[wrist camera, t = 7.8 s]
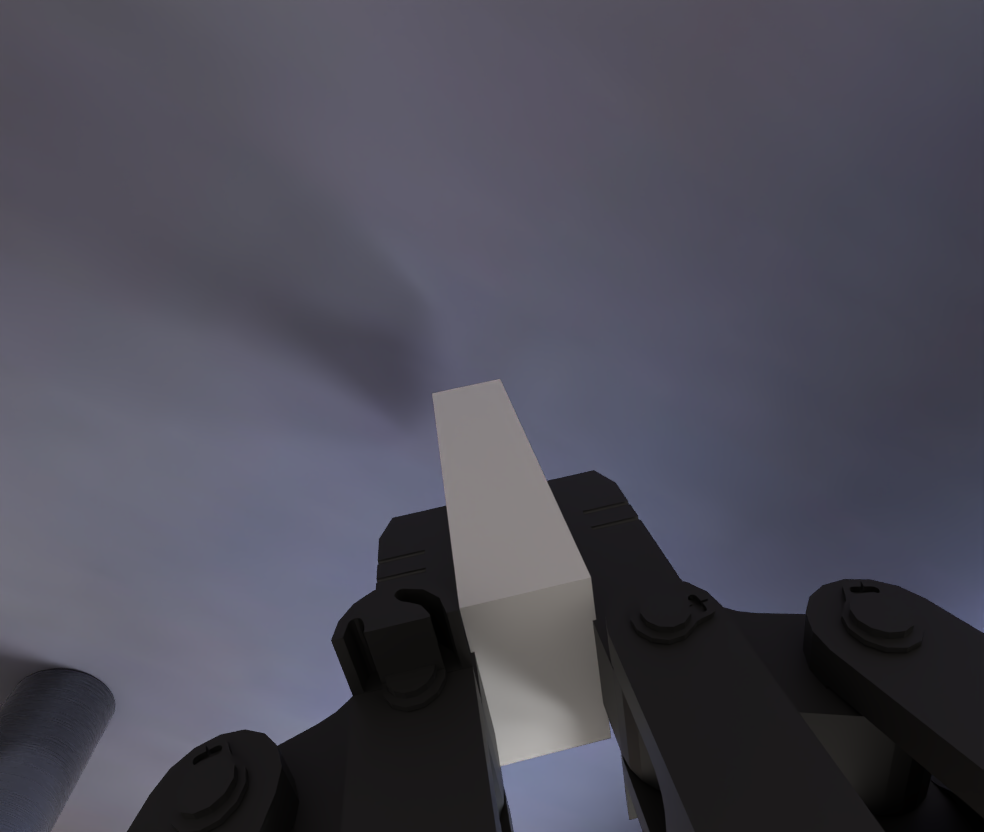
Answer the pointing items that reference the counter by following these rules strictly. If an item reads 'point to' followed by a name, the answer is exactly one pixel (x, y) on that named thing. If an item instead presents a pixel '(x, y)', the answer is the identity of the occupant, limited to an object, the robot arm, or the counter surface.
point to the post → (47, 744)
